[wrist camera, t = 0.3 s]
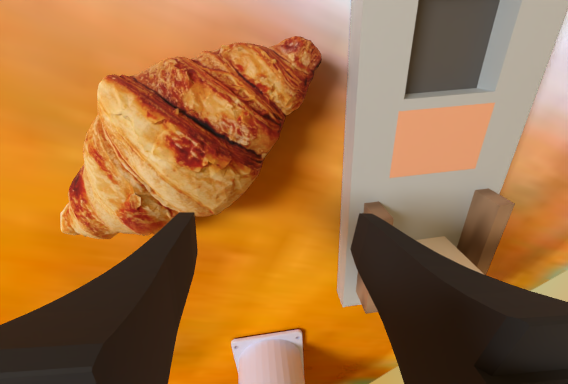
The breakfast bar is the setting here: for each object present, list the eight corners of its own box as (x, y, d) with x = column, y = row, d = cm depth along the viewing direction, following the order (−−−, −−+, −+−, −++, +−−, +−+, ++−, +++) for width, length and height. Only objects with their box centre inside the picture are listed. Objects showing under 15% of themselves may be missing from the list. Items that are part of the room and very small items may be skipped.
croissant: (129, 216, 26) (134, 297, 21) (-12, 168, 18) (-51, 284, 13) (317, 74, 22) (372, 140, 17) (245, -74, 13) (314, -23, 9)
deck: (451, 274, 30) (464, 289, 28) (336, 291, 29) (342, 307, 27) (560, -61, 17) (598, -73, 15) (353, -52, 16) (367, -65, 14)
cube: (433, 276, 27) (469, 321, 22) (384, 283, 26) (411, 331, 22) (444, 236, 24) (487, 277, 20) (390, 243, 24) (423, 287, 20)
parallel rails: (458, 276, 27) (476, 296, 25) (355, 291, 26) (365, 313, 24) (488, 188, 22) (514, 203, 20) (364, 203, 22) (377, 220, 19)
